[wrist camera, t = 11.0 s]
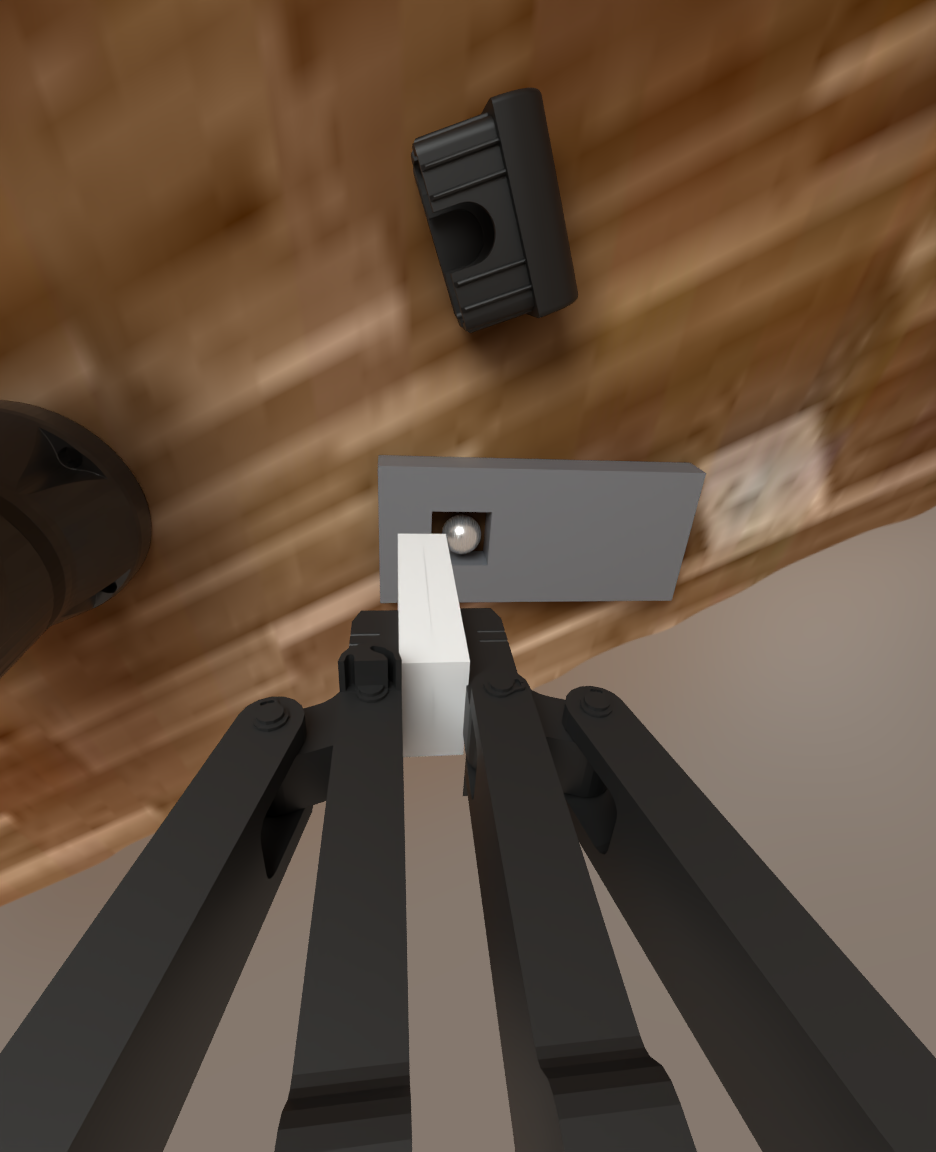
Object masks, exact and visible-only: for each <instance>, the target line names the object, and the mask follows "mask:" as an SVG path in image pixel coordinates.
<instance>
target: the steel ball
mask: <svg viewBox="0 0 936 1152" xmlns="http://www.w3.org/2000/svg"><path fill="white" fill-rule="evenodd" d="M442 534H446V538H447V543H448V548H449V550H450V551H452V552H454V553H458V554H465V553H469V552H471V551H472V550H474V549H475V548H476V547H477V546H478V544H479V542H480V539H481V529H480V526H479V524H478V523H477V522H476V520H475V519H473V518H472V517H470V516H468V515H462V514H461V515H455V516H453V517H451V518H450V519H448V520H447V521H446V523H445V524H444V526H443V529H442Z"/></svg>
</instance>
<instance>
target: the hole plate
mask: <svg viewBox="0 0 936 1152" xmlns="http://www.w3.org/2000/svg"><path fill="white" fill-rule="evenodd" d="M705 475H706V473H705V472H703V471H702V470H700V469H699V468H697V467H696V466H694V465H693V464H691V463H673V462H632V461H592V460H551V459H510V458H470V457H429V456H388V455H379V459H378V500H379V556H380V603H398V534H431V526H432V511H435V512H486V520H485V533H484V545H483V551H471V552H469V553H465V554H458V553H454V552H452V551H449V554H450V559H451V564H452V569H453V575H454V580H455V585H456V590H457V596H458V601H459V602H555V601H670V600H672V597H673V594H674V590H675V586H676V582H677V579H678V575H679V571H680V568H681V564H682V560H683V557H684V553H685V549H686V545H687V542H688V538H689V534H690V531H691V527H692V523H693V520H694V516H695V512H696V508H697V505H698V501H699V497H700V494H701V490H702V486H703V483H704V479H705Z"/></svg>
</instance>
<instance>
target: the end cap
mask: <svg viewBox="0 0 936 1152" xmlns="http://www.w3.org/2000/svg"><path fill="white" fill-rule="evenodd" d="M412 149H413V151H412V153H411V159H412V163H413V172H414V176H415V179H416V183H417V186H418V190H419V193H420V197H421V200H422V204H423V207H424V210H425V214H426V217H427V221H428V224H429V228H430V231H431V235H432V238H433V241H434V245H435V248H436V252H437V255H438V259H439V262H440V266H441V269H442V273H443V276H444V279H445V283H446V286H447V290H448V293H449V297H450V300H451V304H452V307H453V311H454V314H455V316H456V317H457V319H458V322H459V325H460V326H461V327H463V328H464V330H465V331H468V332H469V333H472V332H474V331H477V330H480V329H483V328H486V327H489V326H492V325H495V324H497V323H500V322H503V321H506V320H509V319H512V318H515V317H518V316H520V315H523V314H528V315H531V316H534V317H537V318H540V317H543V316H546V315H548V314H551V313H553V312H556V311H558V310H560V309H563V308H565V307H567V306H569V305H570V304H572V303H573V302H574V301H575V300H576V299H577V298H578V291H577V285H576V280H575V274H574V269H573V263H572V258H571V252H570V247H569V242H568V236H567V231H566V225H565V220H564V214H563V209H562V204H561V198H560V193H559V187H558V182H557V176H556V171H555V166H554V160H553V155H552V149H551V144H550V138H549V133H548V128H547V122H546V117H545V111H544V106H543V100H542V95H541V93H540V91H539V90H538V89H535V88H523V89H518V90H514V91H510V92H507V93H503V94H500V95H497V96H494V97H492V98H490V99H489V101H488V103H487V104H486V106H485V108H484V110H483V112H482V113H481V115H478V116H475V117H473V118H470V119H467V120H465V121H462V122H459V123H456V124H454V125H451V126H448V127H445V128H443V129H440V130H437V131H435V132H432V133H429V134H426V135H424V136H421V137H418V138H416V139H415V141H414V143H413V146H412Z"/></svg>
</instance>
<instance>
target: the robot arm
mask: <svg viewBox="0 0 936 1152" xmlns="http://www.w3.org/2000/svg"><path fill="white" fill-rule="evenodd" d="M150 541H151V519H150V513H149V509H148V505H147V502H146V499H145V497H144V494H143V492H142V490H141V488H140V486H139V484H138V482H137V480H136V479H135V477H134V476H133V474H132V473H131V471H130V470H129V468H128V467H127V466H126V465H125V463H124V462H123V461H122V460H121V459H120V457H119V456H118V455H117V454H116V453H115V452H114V451H113V450H112V449H111V448H110V447H109V446H108V445H106V444H105V443H104V442H103V441H102V440H101V439H99V438H98V437H97V436H95V435H94V434H93V433H91V432H90V431H88V430H87V429H85V428H84V427H82V426H80V425H79V424H77V423H75V422H73V421H72V420H70V419H68V418H66V417H64V416H61V415H59V414H57V413H54V412H52V411H49V410H46V409H43V408H40V407H37V406H33V405H30V404H25V403H20V402H13V401H3V400H0V678H1V677H2V676H3V675H4V674H5V673H6V672H7V671H8V670H9V669H10V668H11V667H12V666H13V665H14V664H15V663H16V662H17V660H18V659H19V658H20V657H21V656H22V655H23V654H24V653H25V652H26V651H27V650H28V649H29V648H30V647H31V646H32V645H33V644H34V643H35V642H36V640H37V639H38V638H39V637H40V636H41V635H42V634H43V633H44V632H45V631H46V630H47V629H48V628H49V627H50V626H52V625H54V624H57V623H59V622H62V621H64V620H66V619H69V618H71V617H74V616H76V615H78V614H81V613H83V612H86V611H88V610H90V609H93V608H95V607H97V606H99V605H101V604H103V603H105V602H106V601H108V600H109V599H111V598H112V597H113V596H115V595H116V594H117V593H118V592H120V591H121V590H122V589H123V588H124V587H125V586H126V584H127V583H128V582H129V581H130V580H131V578H132V577H133V576H134V575H135V574H136V572H137V571H138V570H139V569H140V567H141V565H142V564H143V562H144V560H145V558H146V556H147V553H148V550H149V546H150ZM338 670H339V686H340V692H339V693H338V694H337V695H335V696H334V697H333V698H331V699H330V700H328V701H326V702H324V703H321V704H318V705H315V706H311V707H307V708H302V705H300V704H299V703H298V702H297V701H295V700H293V699H290V698H287V697H269V698H265V699H261V700H258V701H256V702H254V703H252V704H250V705H248V706H247V707H246V708H245V709H244V710H243V711H242V712H241V713H240V714H239V715H238V716H237V718H236V719H235V721H234V722H233V723H232V725H231V726H230V728H229V729H228V731H227V732H226V733H225V735H224V736H223V738H222V739H221V741H220V742H219V743H218V745H217V746H216V748H215V749H214V750H213V752H212V753H211V755H210V756H209V758H208V759H207V760H206V762H205V763H204V765H203V766H202V768H201V769H200V770H199V772H198V773H197V775H196V776H195V777H194V779H193V780H192V782H191V783H190V785H189V786H188V787H187V789H186V790H185V792H184V793H183V795H182V796H181V797H180V799H179V800H178V802H177V803H176V804H175V806H174V807H173V809H172V810H171V812H170V813H169V814H168V816H167V817H166V819H165V820H164V822H163V823H162V824H161V826H160V827H159V829H158V830H157V832H156V833H155V834H154V836H153V837H152V839H151V840H150V842H149V843H148V844H147V846H146V847H145V849H144V850H143V852H142V853H141V854H140V856H139V857H138V859H137V860H136V861H135V863H134V864H133V866H132V867H131V868H130V870H129V872H128V873H127V874H126V876H125V877H124V878H123V880H122V881H121V883H120V884H119V886H118V887H117V889H116V890H115V891H114V893H113V894H112V896H111V897H110V898H109V900H108V901H107V903H106V904H105V905H104V907H103V908H102V910H101V911H100V913H99V914H98V915H97V917H96V918H95V920H94V921H93V923H92V924H91V925H90V927H89V928H88V930H87V931H86V932H85V934H84V935H83V937H82V938H81V940H80V941H79V942H78V944H77V945H76V947H75V948H74V950H73V951H72V952H71V954H70V955H69V957H68V958H67V959H66V961H65V962H64V964H63V965H62V967H61V968H60V969H59V971H58V972H57V974H56V975H55V977H54V978H53V979H52V981H51V982H50V984H49V985H48V987H47V988H46V989H45V991H44V992H43V994H42V995H41V997H40V998H39V1000H38V1001H37V1002H36V1004H35V1005H34V1006H33V1008H32V1009H31V1011H30V1012H29V1013H28V1015H27V1017H26V1018H25V1019H24V1021H23V1022H22V1023H21V1025H20V1026H19V1028H18V1029H17V1031H16V1032H15V1033H14V1035H13V1036H12V1038H11V1039H10V1041H9V1042H8V1043H7V1045H6V1046H5V1048H4V1049H3V1050H2V1052H1V1053H0V1152H163V1150H164V1147H165V1145H166V1143H167V1141H168V1139H169V1136H170V1134H171V1132H172V1129H173V1127H174V1125H175V1122H176V1120H177V1118H178V1116H179V1114H180V1111H181V1109H182V1107H183V1104H184V1102H185V1100H186V1097H187V1095H188V1093H189V1091H190V1088H191V1086H192V1084H193V1081H194V1079H195V1077H196V1075H197V1072H198V1070H199V1068H200V1066H201V1063H202V1061H203V1059H204V1056H205V1054H206V1052H207V1050H208V1047H209V1045H210V1043H211V1041H212V1038H213V1036H214V1034H215V1031H216V1029H217V1027H218V1025H219V1022H220V1020H221V1018H222V1016H223V1013H224V1011H225V1008H226V1006H227V1004H228V1002H229V1000H230V997H231V995H232V993H233V990H234V988H235V986H236V984H237V981H238V979H239V977H240V975H241V972H242V970H243V968H244V965H245V963H246V961H247V958H248V956H249V954H250V951H251V949H252V947H253V945H254V943H255V940H256V938H257V936H258V933H259V931H260V929H261V927H262V924H263V922H264V920H265V918H266V915H267V913H268V911H269V908H270V906H271V904H272V902H273V899H274V897H275V895H276V892H277V890H278V888H279V886H280V883H281V881H282V879H283V877H284V874H285V872H286V870H287V867H288V865H289V863H290V861H291V858H292V856H293V854H294V851H295V849H296V847H297V845H298V842H299V840H300V838H301V836H302V833H303V831H304V828H305V826H306V824H307V822H308V820H309V817H310V815H311V813H312V808H313V805H315V804H318V803H321V802H324V801H326V808H325V816H324V824H323V832H322V840H321V848H320V856H319V864H318V872H317V880H316V889H315V896H314V904H313V912H312V921H311V928H310V936H309V944H308V953H307V961H306V968H305V976H304V984H303V993H302V1001H301V1008H300V1016H299V1025H298V1033H297V1041H296V1049H295V1057H294V1065H293V1073H292V1080H291V1087H290V1092H289V1096H288V1100H287V1102H286V1104H285V1107H284V1109H283V1111H282V1114H281V1119H280V1123H279V1127H278V1132H277V1139H276V1145H275V1151H274V1152H412V1127H411V1094H410V1076H409V1029H408V979H407V933H406V932H407V931H406V884H405V883H406V879H405V834H404V833H405V830H404V781H403V757H420V756H443V755H463V749H464V744H465V752H466V763H465V776H464V789H463V796H468V801H469V808H470V816H471V823H472V830H473V838H474V845H475V853H476V860H477V868H478V875H479V883H480V889H481V897H482V905H483V912H484V920H485V927H486V935H487V942H488V950H489V957H490V965H491V972H492V979H493V986H494V994H495V1002H496V1009H497V1017H498V1024H499V1031H500V1039H501V1046H502V1054H503V1061H504V1069H505V1076H506V1084H507V1091H508V1098H509V1106H510V1113H511V1121H512V1128H513V1135H514V1144H515V1152H697V1151H696V1148H695V1145H694V1142H693V1139H692V1136H691V1133H690V1130H689V1127H688V1124H687V1121H686V1119H685V1116H684V1112H683V1110H682V1107H681V1104H680V1101H679V1099H678V1096H677V1094H676V1092H675V1089H674V1086H673V1084H672V1081H671V1079H670V1078H669V1076H668V1075H667V1073H666V1071H665V1069H664V1068H663V1066H662V1065H661V1064H659V1063H658V1062H657V1061H655V1060H654V1059H653V1058H651V1057H650V1056H649V1054H648V1052H647V1051H646V1049H645V1047H644V1044H643V1042H642V1039H641V1037H640V1033H639V1030H638V1027H637V1024H636V1021H635V1018H634V1015H633V1012H632V1008H631V1005H630V1002H629V999H628V996H627V993H626V989H625V986H624V983H623V980H622V977H621V974H620V970H619V967H618V964H617V961H616V958H615V955H614V951H613V948H612V945H611V942H610V939H609V936H608V932H607V929H606V926H605V923H604V920H603V917H602V914H601V910H600V907H599V904H598V901H597V898H596V895H595V891H594V888H593V885H592V882H591V879H590V876H589V872H588V869H587V866H586V863H585V860H584V857H583V853H582V850H581V847H580V844H581V846H582V848H583V849H584V851H585V853H586V854H587V856H588V858H589V859H590V861H591V863H592V864H593V866H594V868H595V870H596V871H597V873H598V874H599V876H600V878H601V880H602V881H603V883H604V885H605V886H606V888H607V890H608V891H609V893H610V895H611V896H612V898H613V900H614V902H615V903H616V905H617V907H618V908H619V910H620V912H621V913H622V915H623V917H624V918H625V920H626V921H627V924H628V925H629V927H630V929H631V930H632V932H633V934H634V935H635V937H636V939H637V940H638V942H639V944H640V945H641V947H642V949H643V951H644V952H645V954H646V956H647V957H648V959H649V961H650V962H651V964H652V966H653V967H654V969H655V971H656V972H657V974H658V976H659V978H660V979H661V981H662V983H663V984H664V986H665V988H666V989H667V991H668V993H669V994H670V996H671V998H672V999H673V1001H674V1003H675V1005H676V1006H677V1008H678V1010H679V1011H680V1013H681V1014H682V1016H683V1018H684V1020H685V1021H686V1023H687V1025H688V1027H689V1028H690V1030H691V1031H692V1033H693V1035H694V1037H695V1038H696V1040H697V1041H698V1043H699V1045H700V1047H701V1048H702V1050H703V1052H704V1054H705V1055H706V1057H707V1058H708V1060H709V1062H710V1064H711V1065H712V1067H713V1069H714V1070H715V1072H716V1074H717V1075H718V1077H719V1079H720V1081H721V1082H722V1084H723V1086H724V1087H725V1089H726V1091H727V1092H728V1094H729V1096H730V1097H731V1099H732V1101H733V1103H734V1104H735V1106H736V1107H737V1109H738V1111H739V1113H740V1114H741V1116H742V1118H743V1119H744V1121H745V1123H746V1124H747V1126H748V1128H749V1130H750V1131H751V1133H752V1135H753V1136H754V1138H755V1139H756V1141H757V1143H758V1145H759V1146H760V1148H761V1150H762V1151H763V1152H936V1058H935V1057H934V1056H933V1055H932V1053H931V1052H930V1051H929V1050H928V1049H927V1048H926V1047H925V1045H924V1044H923V1043H922V1042H921V1041H920V1040H919V1039H918V1038H917V1036H915V1034H914V1033H913V1032H912V1031H911V1029H910V1028H909V1027H908V1026H907V1025H906V1024H905V1023H904V1021H903V1020H902V1019H901V1018H900V1017H899V1016H898V1015H897V1013H896V1012H895V1011H894V1010H893V1009H892V1008H891V1007H890V1005H889V1004H888V1003H887V1002H886V1001H885V1000H884V999H883V997H882V996H881V995H880V994H879V993H878V992H877V991H876V990H875V988H874V987H873V986H872V985H871V984H870V983H869V982H868V980H867V979H866V978H865V977H864V976H863V975H862V974H861V972H860V971H859V970H858V969H857V968H856V967H855V966H854V964H853V963H852V962H851V961H850V960H849V959H848V958H847V957H846V955H845V954H844V953H843V952H842V951H841V950H840V948H839V947H838V946H837V945H836V944H835V943H834V942H833V941H832V939H831V938H830V937H829V936H828V935H827V934H826V933H825V931H824V930H823V929H822V928H821V927H820V926H819V925H818V923H817V922H816V921H815V920H814V919H813V918H812V917H811V915H810V914H809V913H808V912H807V911H806V910H805V909H804V907H803V906H802V905H801V904H800V903H799V902H798V901H797V899H796V898H795V897H794V896H793V895H792V894H791V893H790V891H789V890H788V889H787V888H786V887H785V886H784V885H783V883H782V882H781V881H780V880H779V879H778V878H777V877H776V875H775V874H774V873H773V872H772V871H771V870H770V869H769V868H768V866H767V865H766V864H765V863H764V862H763V861H762V860H761V858H760V857H759V856H758V855H757V854H756V853H755V852H754V850H753V849H752V848H751V847H750V846H749V845H748V844H747V843H746V841H745V840H744V839H743V838H742V837H741V836H740V835H739V833H738V832H737V831H736V830H735V829H734V828H733V826H732V825H731V824H730V823H729V822H728V821H727V820H726V818H725V817H724V816H723V815H722V814H721V813H720V812H719V811H718V809H717V808H716V807H715V806H714V805H713V804H712V803H711V801H710V800H709V799H708V798H707V797H706V796H705V795H704V793H703V792H702V791H701V790H700V789H699V788H698V787H697V785H696V784H695V783H694V782H693V781H692V780H691V779H690V777H689V776H688V775H687V774H686V773H685V772H684V771H683V769H682V768H681V767H680V766H679V765H678V764H677V763H676V762H675V760H674V759H673V758H672V757H671V756H670V755H669V753H668V752H667V751H666V750H665V749H664V748H663V747H662V745H661V744H660V743H659V742H658V741H657V740H656V739H655V738H654V736H653V735H652V734H651V733H650V732H649V731H648V730H647V729H646V727H645V726H644V725H643V724H642V723H641V722H640V721H639V719H638V718H637V717H636V716H635V715H634V714H633V712H632V711H631V710H630V709H629V708H628V707H627V706H626V705H625V703H624V702H623V701H622V700H621V699H620V698H619V697H617V696H616V695H615V694H614V693H612V692H610V691H608V690H605V689H603V688H599V687H593V686H585V687H584V686H582V687H578V688H576V689H573V690H571V691H570V692H569V694H568V695H567V696H566V700H563V699H558V698H553V697H549V696H545V695H542V694H539V693H537V692H535V691H532V690H531V689H530V686H529V685H528V683H527V681H526V680H525V679H524V678H523V677H521V676H520V675H519V674H518V673H517V670H516V666H515V663H514V660H513V656H512V653H511V650H510V647H509V643H508V642H507V637H506V633H505V632H504V627H503V623H502V620H501V618H500V617H499V616H498V615H497V614H496V613H495V612H494V611H493V610H492V609H491V608H460V606H459V601H458V596H457V590H456V585H455V580H454V575H453V569H452V564H451V559H450V554H449V548H448V543H447V538H446V534H398V610H390V611H361V612H360V613H359V614H358V615H357V616H356V618H355V619H354V620H353V621H352V627H351V636H350V646H349V648H348V649H347V650H346V651H345V652H343V653H342V654H341V656H340V658H339V660H338ZM579 842H580V844H579Z"/></svg>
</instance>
